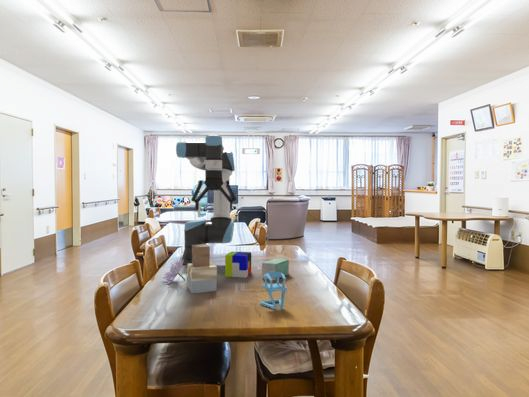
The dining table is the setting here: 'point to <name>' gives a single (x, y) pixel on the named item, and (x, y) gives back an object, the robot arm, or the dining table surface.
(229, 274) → the puzzle toy
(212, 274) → the tower slab upper
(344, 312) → the dining table surface
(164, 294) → the dining table surface
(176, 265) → the water lily
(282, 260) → the box
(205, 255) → the walnut block
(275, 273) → the chair
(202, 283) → the tower slab lower
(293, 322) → the dining table surface
